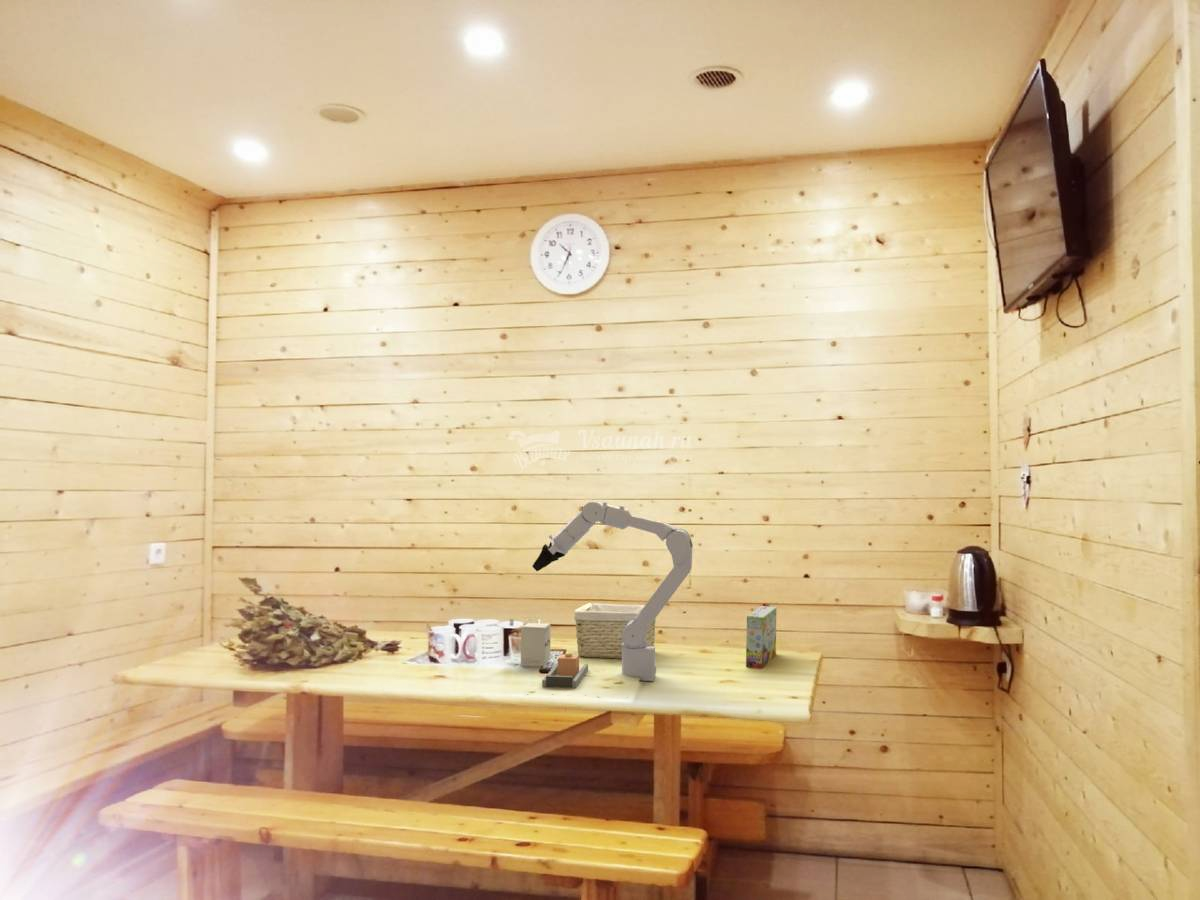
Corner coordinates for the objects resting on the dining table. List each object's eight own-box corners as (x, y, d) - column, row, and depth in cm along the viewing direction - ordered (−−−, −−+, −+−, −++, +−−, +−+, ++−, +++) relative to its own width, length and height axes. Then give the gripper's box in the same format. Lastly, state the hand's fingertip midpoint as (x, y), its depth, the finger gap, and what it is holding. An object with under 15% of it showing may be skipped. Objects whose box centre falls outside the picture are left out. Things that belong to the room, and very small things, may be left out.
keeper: (579, 672, 239) (579, 651, 239) (576, 676, 234) (575, 655, 235) (561, 672, 240) (561, 651, 240) (558, 676, 235) (558, 655, 235)
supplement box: (544, 671, 246) (544, 627, 247) (520, 670, 248) (519, 626, 248) (551, 665, 254) (551, 623, 254) (527, 664, 255) (527, 622, 255)
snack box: (764, 669, 248) (764, 617, 249) (745, 667, 250) (744, 615, 251) (777, 654, 268) (777, 606, 268) (759, 653, 270) (759, 605, 270)
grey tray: (593, 674, 242) (593, 660, 242) (581, 693, 222) (581, 677, 223) (551, 673, 244) (551, 659, 244) (536, 691, 224) (536, 676, 224)
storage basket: (572, 657, 265) (571, 609, 265) (587, 647, 281) (587, 601, 281) (647, 662, 258) (647, 613, 259) (658, 651, 274) (658, 604, 274)
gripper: (566, 521, 250) (533, 554, 251) (556, 525, 236) (522, 559, 237) (582, 539, 249) (550, 571, 250) (574, 544, 235) (539, 578, 236)
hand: (537, 567), depth 244 cm, fingers open, 7 cm apart
